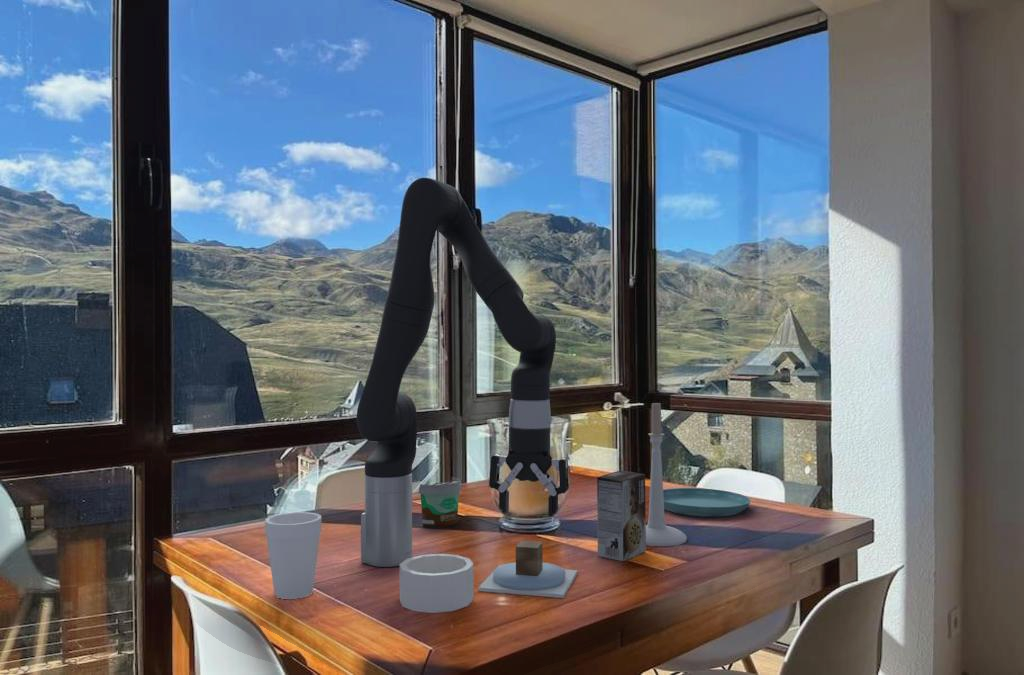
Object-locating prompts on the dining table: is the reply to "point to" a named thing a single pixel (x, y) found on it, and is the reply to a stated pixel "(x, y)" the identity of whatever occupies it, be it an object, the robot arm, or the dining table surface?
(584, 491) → the dining table surface
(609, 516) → the coffee box
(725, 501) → the saucer
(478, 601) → the dining table surface
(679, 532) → the candlestick
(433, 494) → the food container
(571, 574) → the mat
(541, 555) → the lid
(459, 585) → the bowl
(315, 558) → the foam cup
